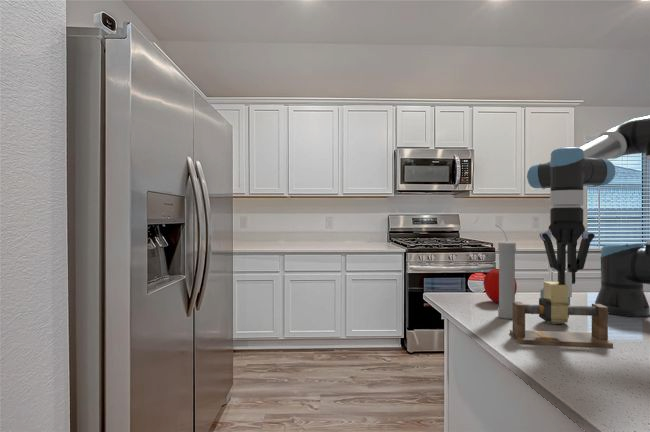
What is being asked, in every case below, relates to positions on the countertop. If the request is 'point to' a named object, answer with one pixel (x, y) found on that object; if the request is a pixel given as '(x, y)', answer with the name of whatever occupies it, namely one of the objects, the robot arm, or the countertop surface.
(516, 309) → the rail
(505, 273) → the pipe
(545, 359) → the countertop surface
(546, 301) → the dark grey square ring
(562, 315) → the sleeve
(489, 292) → the tomato
